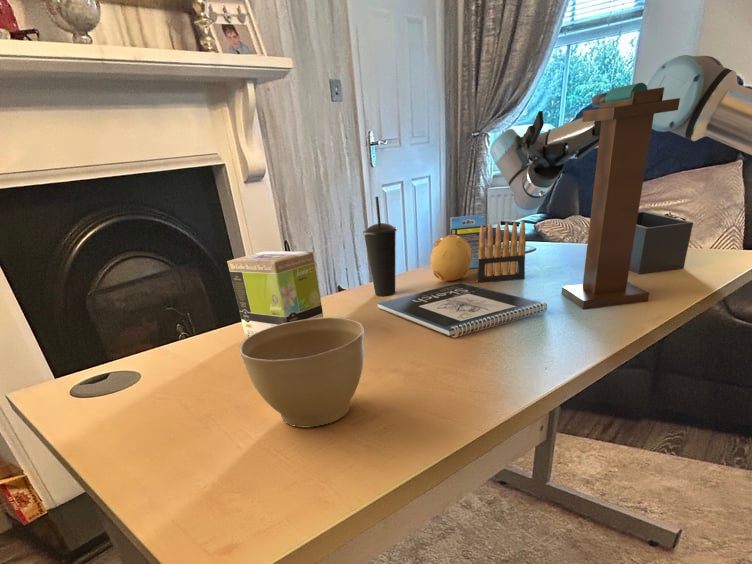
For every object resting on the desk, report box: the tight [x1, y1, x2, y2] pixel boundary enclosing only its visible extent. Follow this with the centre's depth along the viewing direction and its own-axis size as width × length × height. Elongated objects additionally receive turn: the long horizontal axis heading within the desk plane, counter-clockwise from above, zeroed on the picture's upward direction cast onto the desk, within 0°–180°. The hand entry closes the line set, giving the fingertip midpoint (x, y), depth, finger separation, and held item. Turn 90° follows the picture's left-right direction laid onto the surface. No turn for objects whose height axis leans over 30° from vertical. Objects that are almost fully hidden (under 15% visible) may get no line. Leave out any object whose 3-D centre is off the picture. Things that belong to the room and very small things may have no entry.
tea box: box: [226, 250, 325, 335], centre depth 104 cm, size 15×10×15 cm
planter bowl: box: [238, 316, 365, 428], centre depth 71 cm, size 16×16×11 cm
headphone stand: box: [561, 87, 680, 310], centre depth 94 cm, size 13×12×32 cm
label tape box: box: [449, 213, 487, 270], centre depth 134 cm, size 9×4×12 cm, turn 79°
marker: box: [590, 82, 648, 108], centre depth 89 cm, size 18×3×3 cm, turn 2°
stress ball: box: [429, 234, 472, 282], centre depth 126 cm, size 10×10×10 cm
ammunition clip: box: [477, 220, 527, 284], centre depth 120 cm, size 11×2×12 cm, turn 79°
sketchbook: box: [377, 282, 548, 339], centre depth 107 cm, size 22×30×2 cm
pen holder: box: [629, 210, 694, 275], centre depth 120 cm, size 22×10×9 cm, turn 2°
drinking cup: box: [362, 196, 398, 297], centre depth 120 cm, size 8×8×20 cm
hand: (575, 113), depth 106 cm, fingers open, 13 cm apart
